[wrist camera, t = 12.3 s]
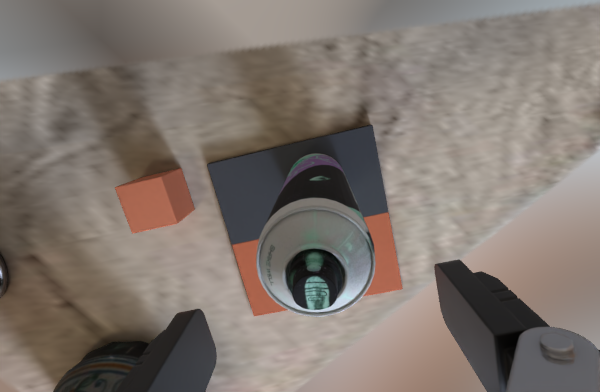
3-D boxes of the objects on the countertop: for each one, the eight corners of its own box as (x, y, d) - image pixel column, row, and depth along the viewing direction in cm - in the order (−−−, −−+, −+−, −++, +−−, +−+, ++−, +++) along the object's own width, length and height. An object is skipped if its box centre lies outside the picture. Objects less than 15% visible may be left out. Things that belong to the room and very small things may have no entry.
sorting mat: (254, 313, 36) (253, 316, 36) (208, 163, 32) (206, 164, 32) (401, 286, 34) (402, 289, 34) (371, 124, 31) (372, 124, 30)
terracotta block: (155, 218, 34) (132, 233, 30) (140, 177, 33) (114, 187, 29) (195, 209, 34) (177, 223, 29) (181, 167, 32) (160, 176, 28)
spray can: (323, 141, 31) (334, 193, 11) (356, 188, 31) (418, 312, 12) (276, 174, 32) (211, 275, 12) (309, 219, 32) (297, 379, 13)
